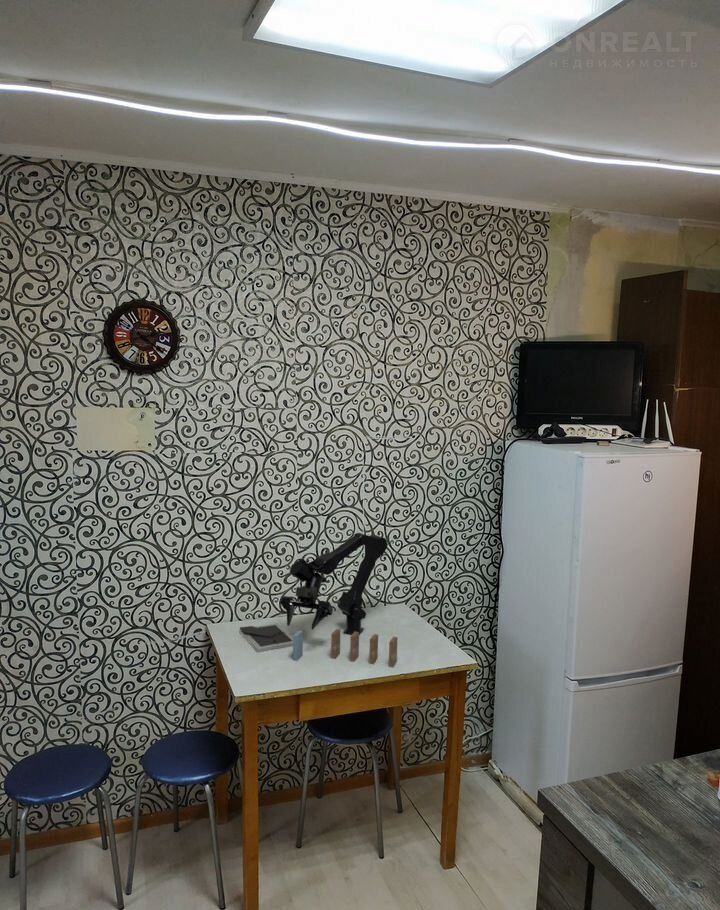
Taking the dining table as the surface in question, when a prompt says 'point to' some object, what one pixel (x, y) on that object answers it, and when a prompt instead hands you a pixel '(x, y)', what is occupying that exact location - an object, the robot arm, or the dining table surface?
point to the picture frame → (267, 637)
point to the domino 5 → (393, 651)
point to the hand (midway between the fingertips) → (299, 627)
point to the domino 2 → (335, 644)
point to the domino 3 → (354, 646)
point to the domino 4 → (373, 649)
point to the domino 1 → (297, 645)
